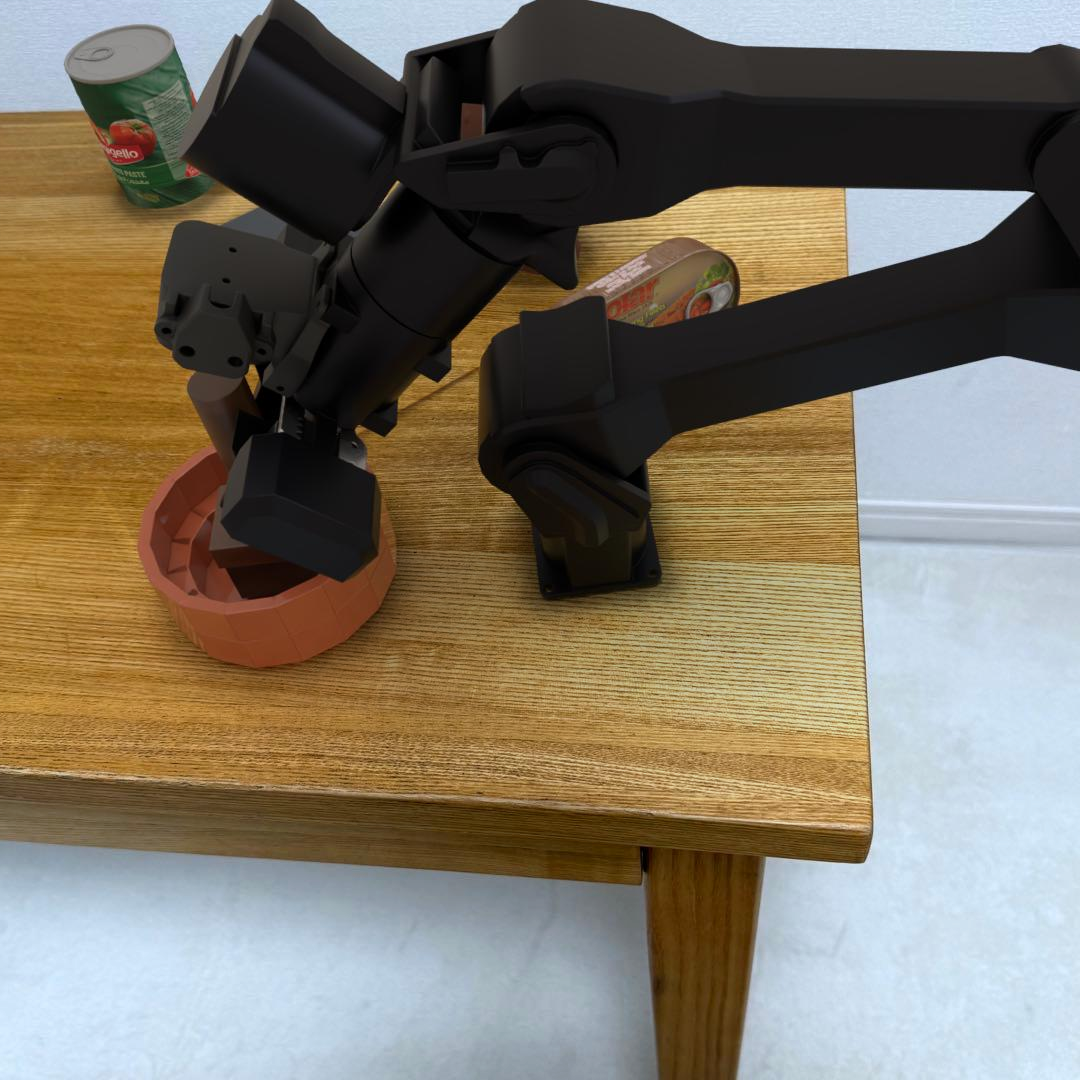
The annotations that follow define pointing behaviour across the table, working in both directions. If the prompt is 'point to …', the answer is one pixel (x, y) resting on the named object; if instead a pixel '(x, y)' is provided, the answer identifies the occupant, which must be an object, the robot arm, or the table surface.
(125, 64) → the canned tomato
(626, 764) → the table surface
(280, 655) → the bowl
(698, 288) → the tin
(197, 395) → the brush
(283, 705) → the table surface
